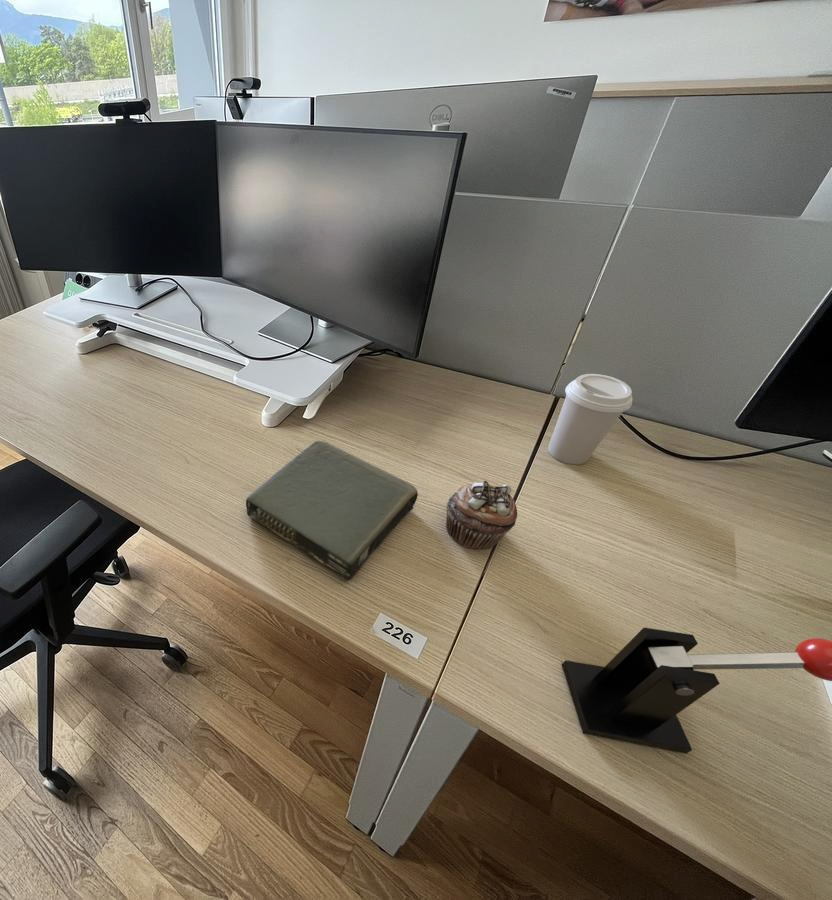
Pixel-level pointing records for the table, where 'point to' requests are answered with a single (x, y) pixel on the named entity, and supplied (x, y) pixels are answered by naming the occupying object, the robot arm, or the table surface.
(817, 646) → the switch lever
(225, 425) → the table surface
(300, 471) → the network switch
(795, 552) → the table surface
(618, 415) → the coffee cup
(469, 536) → the cupcake
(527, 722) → the table surface
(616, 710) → the switch bracket
